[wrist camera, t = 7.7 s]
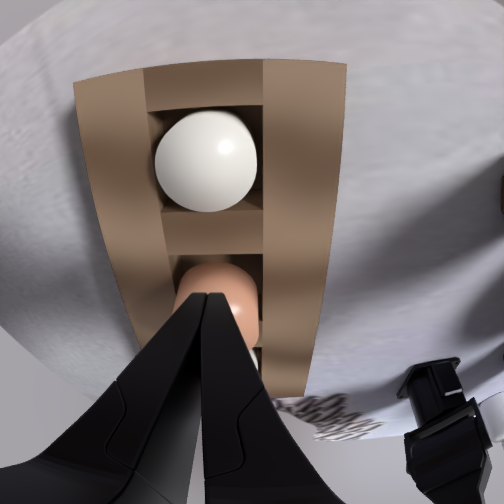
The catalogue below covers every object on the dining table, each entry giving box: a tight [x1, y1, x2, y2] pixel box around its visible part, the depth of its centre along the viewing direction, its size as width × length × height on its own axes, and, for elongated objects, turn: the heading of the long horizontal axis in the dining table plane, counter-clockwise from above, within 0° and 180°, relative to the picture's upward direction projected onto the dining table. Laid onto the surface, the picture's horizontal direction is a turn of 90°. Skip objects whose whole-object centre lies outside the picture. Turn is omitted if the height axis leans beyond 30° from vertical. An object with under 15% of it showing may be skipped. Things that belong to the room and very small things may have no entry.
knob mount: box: [73, 59, 347, 398], centre depth 20 cm, size 24×12×4 cm, turn 1°
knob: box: [155, 106, 257, 212], centre depth 15 cm, size 4×4×3 cm
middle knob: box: [172, 261, 259, 351], centre depth 17 cm, size 4×4×3 cm
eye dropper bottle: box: [479, 392, 504, 449], centre depth 34 cm, size 4×6×12 cm
